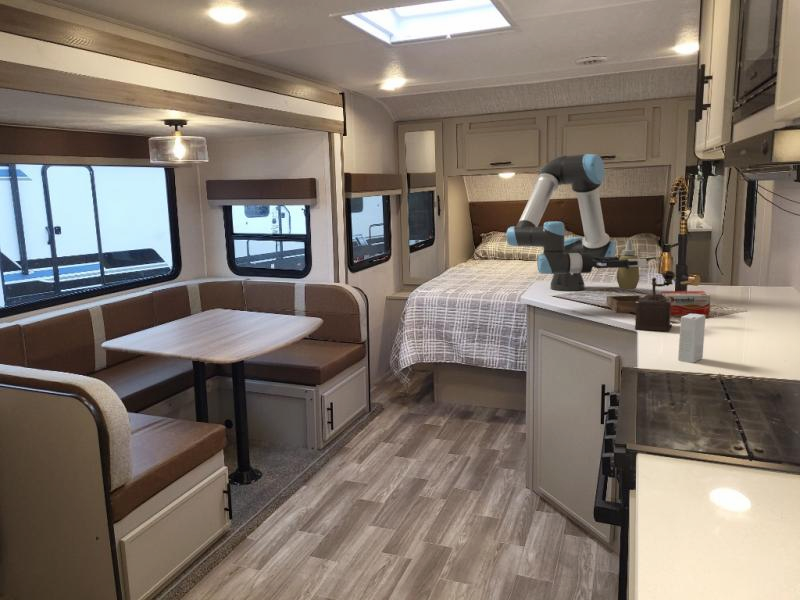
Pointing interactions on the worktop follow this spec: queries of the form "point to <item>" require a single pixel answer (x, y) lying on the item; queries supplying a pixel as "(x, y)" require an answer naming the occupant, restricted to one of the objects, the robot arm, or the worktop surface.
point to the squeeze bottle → (630, 275)
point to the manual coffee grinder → (655, 308)
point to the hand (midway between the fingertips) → (642, 261)
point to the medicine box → (688, 302)
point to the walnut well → (622, 303)
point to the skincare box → (691, 338)
